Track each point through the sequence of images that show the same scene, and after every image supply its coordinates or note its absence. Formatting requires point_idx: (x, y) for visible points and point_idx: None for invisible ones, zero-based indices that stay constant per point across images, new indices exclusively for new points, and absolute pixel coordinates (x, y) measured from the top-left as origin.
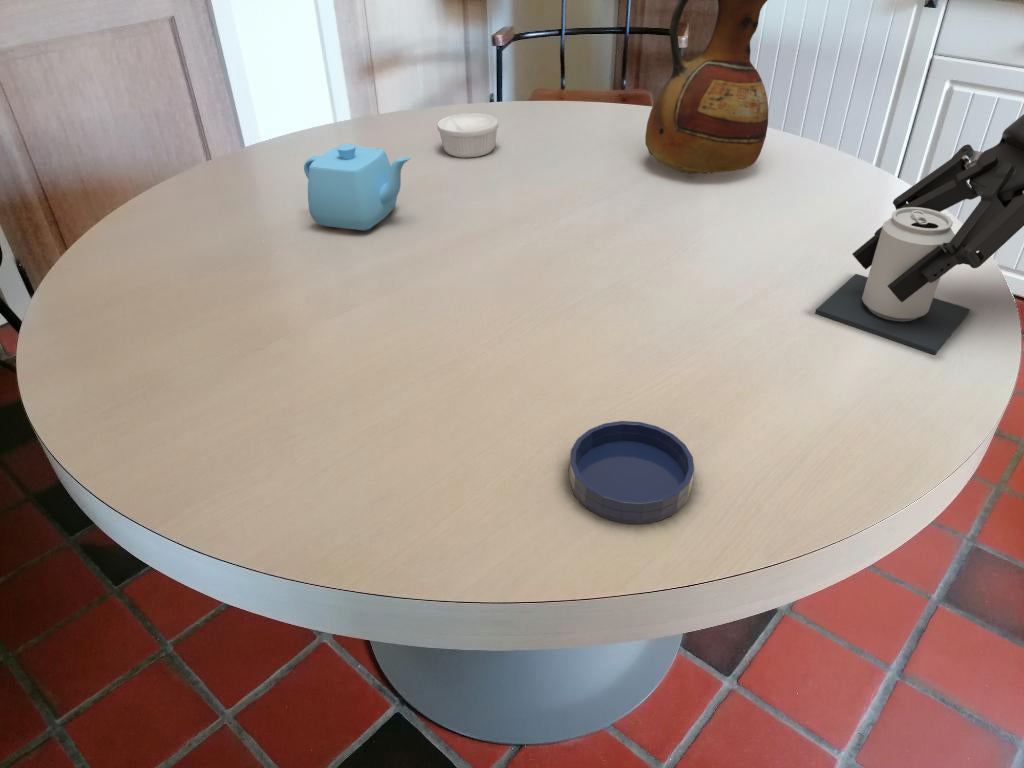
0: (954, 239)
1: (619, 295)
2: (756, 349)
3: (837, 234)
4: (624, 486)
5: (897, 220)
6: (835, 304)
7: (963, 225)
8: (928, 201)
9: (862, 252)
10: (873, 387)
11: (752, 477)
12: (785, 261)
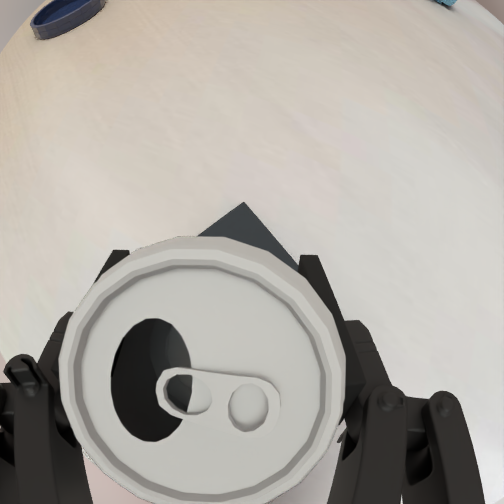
0: (39, 414)
1: (323, 30)
2: (169, 94)
3: (482, 372)
4: (64, 13)
5: (188, 247)
6: (253, 244)
7: (50, 476)
8: (351, 499)
9: (304, 272)
10: (46, 197)
11: (26, 68)
12: (423, 245)
